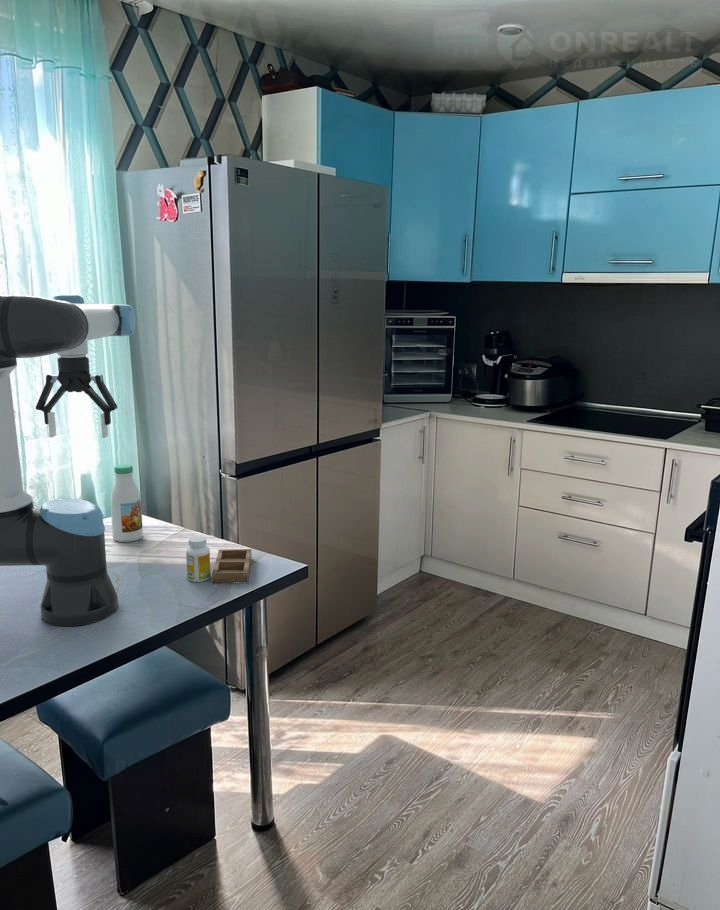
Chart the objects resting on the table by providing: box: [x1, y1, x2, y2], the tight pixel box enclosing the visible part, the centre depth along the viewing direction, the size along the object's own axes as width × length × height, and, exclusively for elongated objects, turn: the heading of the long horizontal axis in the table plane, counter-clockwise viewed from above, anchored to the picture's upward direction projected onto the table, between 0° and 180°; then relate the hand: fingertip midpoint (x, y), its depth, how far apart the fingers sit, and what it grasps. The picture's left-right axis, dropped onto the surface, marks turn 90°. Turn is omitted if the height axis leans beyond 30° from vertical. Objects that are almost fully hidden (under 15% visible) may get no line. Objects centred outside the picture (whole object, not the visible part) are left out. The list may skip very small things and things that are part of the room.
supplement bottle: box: [185, 535, 212, 583], centre depth 168 cm, size 5×5×10 cm
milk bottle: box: [110, 463, 144, 543], centre depth 192 cm, size 8×8×20 cm
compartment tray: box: [211, 548, 253, 585], centre depth 173 cm, size 15×8×2 cm, turn 5°
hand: (79, 436), depth 190 cm, fingers open, 13 cm apart
